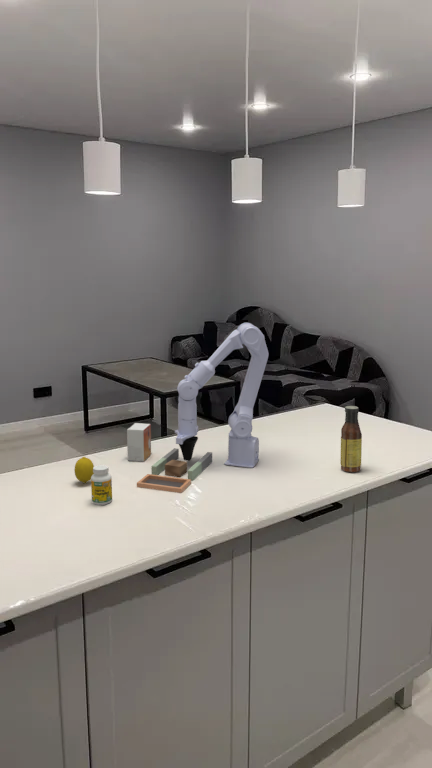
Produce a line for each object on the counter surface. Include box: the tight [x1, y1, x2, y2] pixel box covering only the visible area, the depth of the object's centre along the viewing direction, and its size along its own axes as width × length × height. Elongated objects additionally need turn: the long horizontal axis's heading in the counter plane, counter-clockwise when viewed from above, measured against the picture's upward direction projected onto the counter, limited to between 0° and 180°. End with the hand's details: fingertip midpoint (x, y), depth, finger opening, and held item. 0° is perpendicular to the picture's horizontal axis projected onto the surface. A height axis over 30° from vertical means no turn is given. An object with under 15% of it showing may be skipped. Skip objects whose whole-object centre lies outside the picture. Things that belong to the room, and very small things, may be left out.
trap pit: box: [136, 473, 192, 494], centre depth 172 cm, size 14×8×1 cm, turn 72°
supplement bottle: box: [90, 464, 113, 506], centre depth 160 cm, size 5×5×10 cm
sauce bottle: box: [340, 405, 363, 473], centre depth 184 cm, size 6×6×20 cm
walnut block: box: [164, 459, 188, 478], centre depth 182 cm, size 5×5×4 cm
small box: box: [126, 422, 152, 462], centre depth 195 cm, size 8×6×10 cm
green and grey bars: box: [150, 448, 213, 482], centre depth 186 cm, size 13×18×3 cm
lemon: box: [73, 456, 95, 484], centre depth 173 cm, size 6×6×8 cm
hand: (187, 459), depth 190 cm, fingers closed
